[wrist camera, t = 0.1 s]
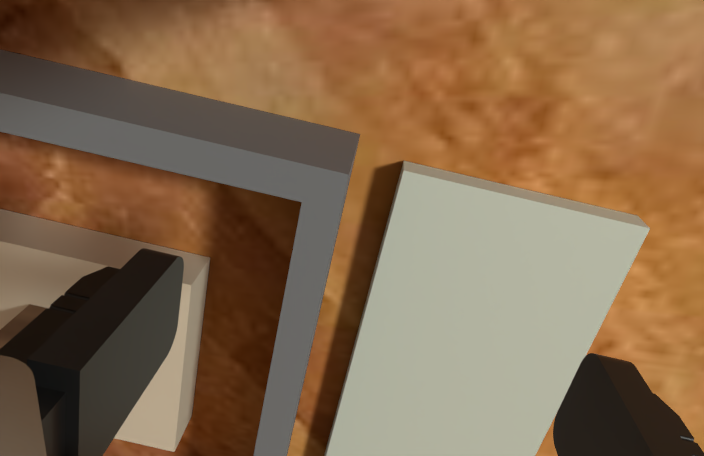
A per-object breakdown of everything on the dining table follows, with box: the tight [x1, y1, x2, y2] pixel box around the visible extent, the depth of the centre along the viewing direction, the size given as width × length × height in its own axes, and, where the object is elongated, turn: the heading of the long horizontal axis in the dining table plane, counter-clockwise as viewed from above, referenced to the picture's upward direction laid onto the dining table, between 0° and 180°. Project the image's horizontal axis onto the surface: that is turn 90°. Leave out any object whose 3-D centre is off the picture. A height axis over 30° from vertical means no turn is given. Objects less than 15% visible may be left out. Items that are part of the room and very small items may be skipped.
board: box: [324, 161, 650, 456], centre depth 31 cm, size 24×12×2 cm, turn 168°
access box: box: [0, 49, 360, 456], centre depth 30 cm, size 30×25×6 cm
